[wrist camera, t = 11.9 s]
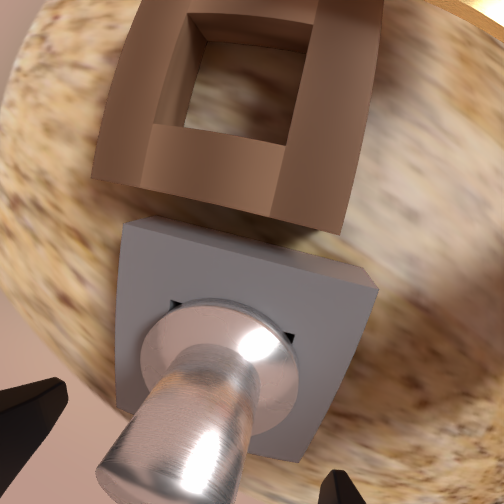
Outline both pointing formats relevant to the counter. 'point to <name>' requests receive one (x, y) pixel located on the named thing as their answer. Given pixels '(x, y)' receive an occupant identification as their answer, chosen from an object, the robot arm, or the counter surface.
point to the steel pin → (201, 404)
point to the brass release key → (477, 13)
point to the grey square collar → (249, 293)
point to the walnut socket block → (235, 147)
